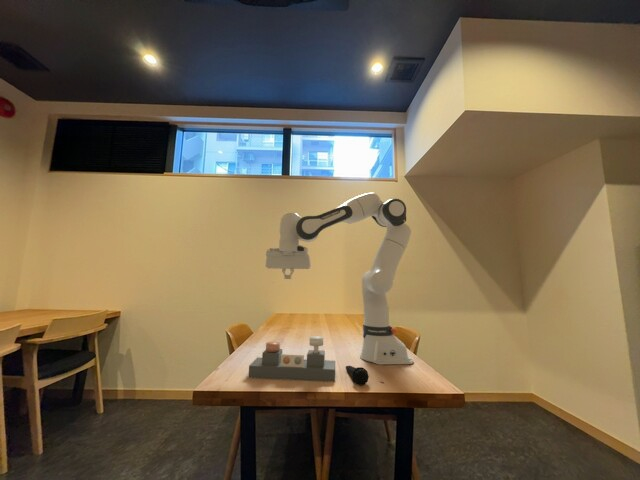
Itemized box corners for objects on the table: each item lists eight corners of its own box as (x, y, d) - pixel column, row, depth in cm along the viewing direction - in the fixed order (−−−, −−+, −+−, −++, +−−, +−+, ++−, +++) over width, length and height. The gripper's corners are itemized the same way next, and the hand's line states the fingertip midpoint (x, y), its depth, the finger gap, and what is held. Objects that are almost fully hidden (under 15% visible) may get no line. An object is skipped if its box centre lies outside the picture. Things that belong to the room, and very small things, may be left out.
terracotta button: (280, 358, 103) (281, 341, 104) (277, 362, 98) (278, 345, 99) (267, 358, 103) (268, 341, 104) (263, 362, 98) (264, 344, 99)
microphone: (342, 376, 108) (358, 390, 89) (337, 361, 109) (352, 372, 90) (355, 371, 109) (373, 384, 90) (350, 356, 110) (367, 366, 91)
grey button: (323, 353, 102) (323, 336, 103) (322, 357, 97) (322, 339, 98) (309, 352, 103) (310, 335, 103) (308, 356, 98) (308, 338, 98)
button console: (335, 371, 103) (335, 349, 104) (334, 381, 94) (335, 357, 95) (256, 368, 105) (257, 346, 106) (248, 377, 96) (249, 353, 97)
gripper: (264, 247, 124) (263, 278, 122) (310, 247, 122) (309, 279, 120) (268, 248, 130) (266, 278, 128) (311, 249, 128) (310, 279, 127)
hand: (287, 279), depth 124 cm, fingers closed
